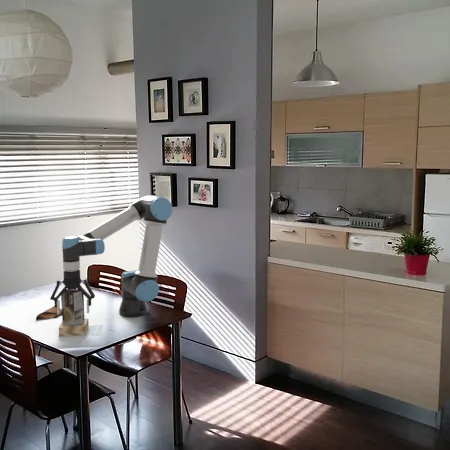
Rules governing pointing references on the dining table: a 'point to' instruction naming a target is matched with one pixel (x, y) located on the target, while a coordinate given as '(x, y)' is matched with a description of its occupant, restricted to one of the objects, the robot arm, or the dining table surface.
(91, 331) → the board
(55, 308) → the sunglasses case
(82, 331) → the oak plinth
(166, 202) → the robot arm
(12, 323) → the dining table surface
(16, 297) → the dining table surface
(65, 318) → the coffee box
